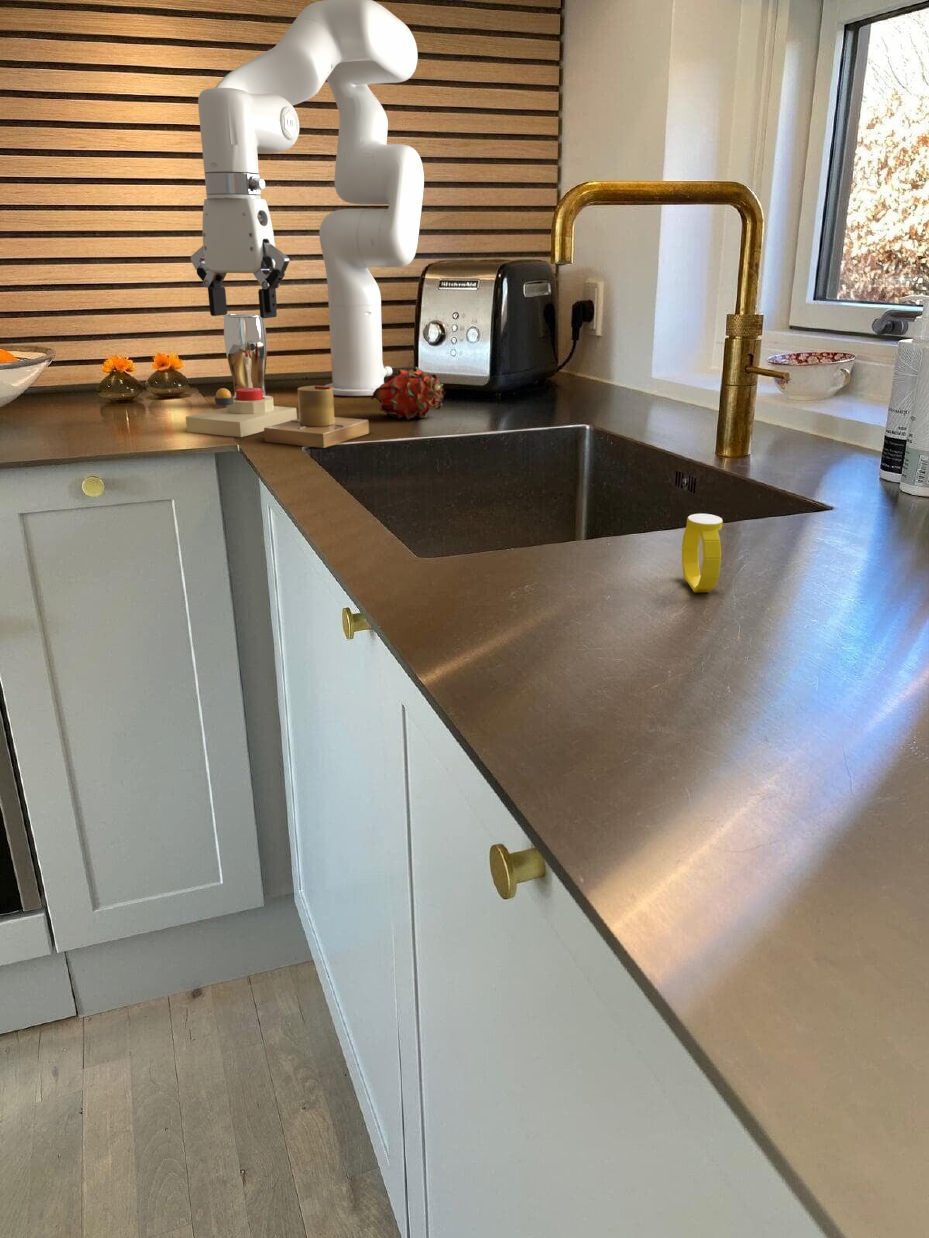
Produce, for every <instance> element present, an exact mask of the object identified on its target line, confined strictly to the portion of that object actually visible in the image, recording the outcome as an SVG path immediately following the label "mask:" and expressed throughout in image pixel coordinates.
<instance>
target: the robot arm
mask: <svg viewBox="0 0 929 1238" xmlns="http://www.w3.org/2000/svg"><path fill="white" fill-rule="evenodd" d="M418 55H419V54H418V46H417V41H416V39H415V37H414V35H413V33H412V31H411V30H410V28H409V27H408V25H407V24H405V23H404V22H403V21H402V20H401V19H400V18H398V17H397V16H396V15H395V14H393V13H392V12H391V11H390V10H388V9H387V8H386V7H384V6H383V5H381V4H380V3H378V2H377V1H374V0H319V1H315V2H311V3H310V4H308V5H307V6H306V7H305V8H303V9H302V11H301V12H300V13H299V14H298V15H297V17H296V18H295V20H293V22H292V24H290V26H289V28H287V30H286V32H285V33H284V34H283V35H282V37H281V38H280V39H279V41H278V42H277V44H276V45H275V46H273V48H270V49H268V50H266V51H264V52H262V53H261V54H259V55H257V56H256V57H254V58H252V59H251V60H249V61H247V62H245V63H243V64H242V65H240V66H238V67H236V68H235V69H233V70H231V71H230V72H229V73H228V74H226V75H225V76H224V77H223V78H222V79H221V80H220V81H219V82H218V83H217V84H216V86H215V87H210V88H206V89H204V90H202V91H200V93H199V95H198V98H197V99H198V100H197V105H198V106H197V107H198V117H199V128H200V129H199V130H200V139H201V140H200V141H201V150H202V161H203V162H202V163H203V171H204V182H205V183H204V184H205V194H206V198H204V199H203V208H202V245H201V247H200V248H198V249H197V250H196V251H195V252H193V253H192V255H190V261H191V264H192V266H193V267H194V269H195V270H196V274H197V276H198V278H200V280H201V281H202V284H203V286H204V288H207V296H208V306H209V313H210V316H211V317H219V316H224V315H226V314H228V304H227V293H226V288H225V286H222V284H223V282H224V280H225V278H226V276H227V274H253V276H254V278H255V279H256V280H257V282H258V283H259V285H260V287H261V288H259V289H258V291H257V293H258V304H259V314H260V317H261V318H264V319H271V318H276V317H277V315H278V314H277V313H278V312H277V311H278V306H277V305H278V303H277V291H276V290H277V289H278V288H279V287H280V283H281V282H282V281H283V279H284V277H285V275H286V271H287V268H288V266H289V264H290V258H289V256H288V255H287V254H285V253H283V252H282V250H280V249H278V248H277V247H276V242H275V241H276V240H275V234H274V229H273V223H272V217H271V213H270V210H269V206H268V203H267V200H266V199H265V198H261V190H264V189H265V188H266V181H265V180H264V179H263V178H260V171H259V156H258V154H276V153H282V152H286V151H288V150H289V149H291V148H292V147H293V146H294V145H295V143H296V142H297V140H298V138H299V135H300V120H299V116H298V113H297V111H296V108H294V106H296V105H298V104H299V105H300V104H301V103H304V102H306V101H308V100H310V99H313V97H314V96H317V94H318V93H319V91H320V90H321V89H322V87H323V86H324V84H325V83H326V81H327V85H328V86H329V89H330V91H331V94H332V96H333V98H334V101H335V104H336V107H337V111H338V118H339V123H338V137H337V147H336V156H335V165H334V166H335V167H334V169H335V170H334V188H335V192H336V194H337V196H338V197H339V199H340V200H342V201H343V202H345V203H348V204H353V205H388V208H343V209H337V210H333V211H331V212H330V213H328V214H327V215H326V216H325V217H324V218H323V219H322V221H321V223H320V226H319V231H318V232H319V233H318V234H319V235H318V236H319V243H320V244H319V245H320V248H321V253H322V257H323V262H324V268H325V273H326V274H325V275H326V284H327V296H328V297H327V298H328V299H327V300H328V319H329V321H328V323H329V341H330V359H331V362H330V363H331V379H332V380H331V381H332V382H331V383H327V384H325V385H324V386H329V387H332V388H333V396H339V397H371V396H372V395H373V392H374V391H375V390H376V389H377V388H379V387H380V386H381V385H382V384H384V383H385V378H388V377H389V376H393V369H392V367H391V366H389V365H386V366H384V362H383V332H382V331H383V330H382V329H383V328H382V295H381V290H380V288H379V287H380V286H379V285H378V282H377V281H376V280H375V278H374V276H373V275H372V273H371V271H370V270H369V268H402V267H407V266H409V264H411V263H412V262H413V261H414V258H415V256H416V253H417V250H418V242H419V237H420V235H419V234H420V225H421V218H422V217H421V216H422V209H423V200H424V199H423V198H424V189H425V187H424V186H425V173H424V167H423V161H422V159H421V156H420V155H419V153H418V151H417V150H416V149H415V148H414V147H412V146H411V145H408V144H403V143H387V142H388V130H389V129H388V128H389V120H388V117H387V116H388V115H387V113H386V111H385V109H384V108H383V105H382V104H381V102H380V101H379V99H378V98H377V96H375V94H374V92H372V90H371V89H370V87H369V85H378V84H397V83H402V82H406V81H407V80H409V79H411V77H412V76H413V75H414V73H415V71H416V69H417V66H418V57H419V56H418Z"/></svg>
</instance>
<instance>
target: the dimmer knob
mask: <svg viewBox="0 0 929 1238" xmlns="http://www.w3.org/2000/svg"><path fill="white" fill-rule="evenodd" d="M334 396H335V395H333V388H332V387H329V386H325V385H305V386H300V387H298V388H297V397H298V398H297V399H298V400H297V401H298V416H299V418H300V424H301V425H304V426H328V425H332V424H334V423H335V417H336V416H335V398H334ZM299 418H298V419H299Z"/></svg>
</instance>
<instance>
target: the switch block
mask: <svg viewBox="0 0 929 1238" xmlns="http://www.w3.org/2000/svg"><path fill="white" fill-rule="evenodd" d="M232 397H233V404H232V405H226V407H223V408H219V409H214V410H210V411H209V410H208V411H206V412H205V411H204V412H202V413H197V414H192V415H188V416H185V423H186V431H187V432H189V433H190V432H191V433H198V434H207V435H216V436H225V437H233V438H234V437H235V438H243V437H247V436H251V435H254V434H258V433H262V432H264V428H265V427H269V426H273V425H276V424H280V423H284V422H288V421H290V420H295V419H298V413H297V407H292V406H291V407H289V406H278V405H274V404H275V403H274V397H273V396H270V395H267V396H264V395H263V399H262V400H255V401H239V400H236V396H234V395H233V396H232Z"/></svg>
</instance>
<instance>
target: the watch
mask: <svg viewBox="0 0 929 1238" xmlns="http://www.w3.org/2000/svg"><path fill="white" fill-rule="evenodd" d="M723 523H724V521H723V518H722V517H720V516H719V515H715V514H709V513H693V514H690V515H689V516H688V517H687V518H686V526H685V529H684V532H683V535H682V544H681V547H682V548H681V568H682V574H683V580H685V581H686V582H687V584H688V585H689V587H690V588H691V589H692V592H693V593H695V594H696V593H710V592H711V591H713V590H714V589H715V588H716V586H717V583H718V580H719V578H720V573H721V564H722V545H721V544H722V543H721V538H720V533H719V531H721V530H722V528H723ZM700 540H701V541H700ZM700 542H702V545H701V546H702V558H703V559H702V566H701V568H700V564H699V560H700V559H699V554H700V553H699V547H700ZM700 569H701V570H700Z"/></svg>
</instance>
